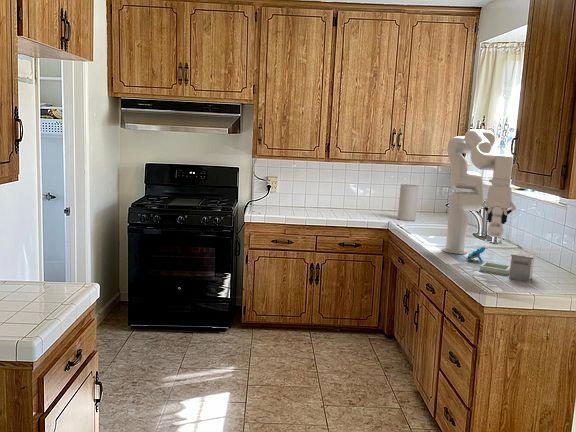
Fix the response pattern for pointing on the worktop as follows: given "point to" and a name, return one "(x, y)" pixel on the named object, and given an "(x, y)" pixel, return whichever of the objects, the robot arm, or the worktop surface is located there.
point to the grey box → (521, 266)
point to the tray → (495, 268)
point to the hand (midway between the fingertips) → (496, 222)
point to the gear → (476, 254)
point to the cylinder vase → (408, 202)
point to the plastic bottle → (496, 221)
